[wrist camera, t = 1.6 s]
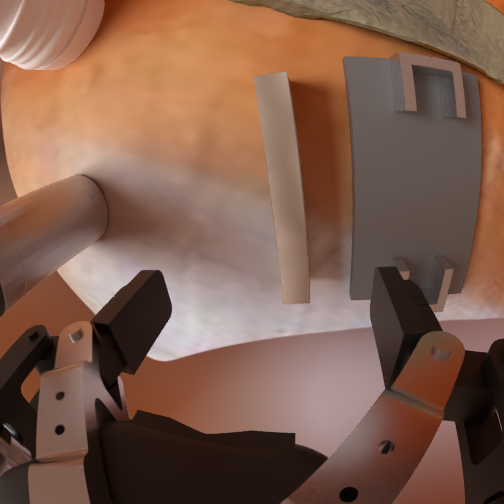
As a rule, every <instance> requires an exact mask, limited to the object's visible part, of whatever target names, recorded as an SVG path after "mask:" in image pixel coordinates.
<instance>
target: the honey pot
mask: <svg viewBox="0 0 504 504" xmlns="http://www.w3.org/2000/svg"><path fill="white" fill-rule="evenodd" d="M104 6H105V3H104V0H0V57H1V58H2V60H4V61H6V62H10V63H13V64H15V65H17V66H18V67H20V68H23V69H26V70H27V69H36V70H56V69H61V68H64V67H66V66H68V65H69V64H71V63H72V62H73V61H75V60H76V59H77V58H78V57H79V56H80V55H81V54H82V53H83V52H84V51H85V49H86V48H87V46H88V45H89V44H90V42H91V41H92V39H93V38H94V36H95V34H96V32H97V30H98V28H99V26H100V23H101V20H102V17H103V13H104Z"/></svg>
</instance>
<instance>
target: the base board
mask: <svg viewBox="0 0 504 504" xmlns="http://www.w3.org/2000/svg"><path fill="white" fill-rule="evenodd" d="M343 67H344V74H345V82H346V91H347V100H348V110H349V121H350V135H351V152H352V178H353V233H352V260H351V278H350V292H349V293H350V298H351V300H368V299H371V296H372V287H373V278H374V271H375V268H376V267H386V266H391V260H392V257H401V258H402V259H403V261H404V263H405V264H406V266H407V268H408V269H409V271H410V272H409V278H408V279H410V280H411V281H413V282H414V283H415V284H417V285H418V286H419V287H420V288H421V289H428V286H429V281H430V277H431V271H432V266H433V261H434V256H436V255H442V256H443V257H444V258H445V259H446V260H447V262H448V263H449V264H450V265H451V266H452V268H453V274H452V278H451V282H450V286H449V290H448V294H457V293H461V292H462V288H463V284H464V280H465V276H466V272H467V268H468V264H469V259H470V255H471V250H472V245H473V239H474V233H475V227H476V221H477V213H478V205H479V196H480V184H481V166H482V126H481V108H480V97H479V88H478V80H477V75H473V74H470V73H466V72H462V71H461V73H462V80H463V88H464V97H465V109H466V118H450V117H443V116H442V109H441V97H440V88H439V80H438V76H437V75H431V74H425V73H418V72H413V79H414V87H415V96H416V107H417V111H414V112H395V111H394V101H393V91H392V82H391V74H390V67H389V61H388V59H383V58H369V57H344V58H343Z"/></svg>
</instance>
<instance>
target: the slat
mask: <svg viewBox="0 0 504 504" xmlns="http://www.w3.org/2000/svg"><path fill="white" fill-rule="evenodd" d="M254 82H255V88H256V95H257V101H258V108H259V115H260V121H261V128H262V135H263V142H264V149H265V156H266V163H267V171H268V178H269V186H270V193H271V201H272V209H273V217H274V225H275V234H276V242H277V251H278V259H279V268H280V277H281V287H282V296H283V304H298V303H310V269H309V253H308V238H307V224H306V212H305V201H304V190H303V180H302V171H301V161H300V153H299V144H298V136H297V128H296V121H295V114H294V107H293V100H292V93H291V87H290V81H289V78H288V75H287V72H279V73H271V74H263V75H257V76H254Z"/></svg>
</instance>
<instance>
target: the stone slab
mask: <svg viewBox="0 0 504 504" xmlns="http://www.w3.org/2000/svg"><path fill="white" fill-rule="evenodd" d="M229 1H233V2H236V3H242V4H246V5H249V6H256V5H260V6H265V7H268V8H271V9H273V10H276V11H279V12H282V13H285V14H287V15H290V16H293V17H296V18H305V19H317V18H325V19H330V20H335V21H339V22H344V23H348V24H352V25H356V26H360V27H363V28H367V29H370V30H374V31H378V32H381V33H384V34H387V35H390V36H393V37H396V38H400V39H403V40H405V41H408V42H412V43H414V44H417V45H420V46H422V47H424V48H427V49H429V50H431V51H434V52H437V53H439V54H442V55H445V56H447V57H449V58H451V59H454V60H456V61H458V62H460V63H462V64H465V65H467V66H469V67H472V68H474V69H476V70H477V71H479V72H481V73H482V74H484V75H485V76H486V77H487V78H488V79H490V80H492V81H494V82H496V83H498V84H502V85H503V84H504V15H503V14H502V13H501V12H500V11H499V10H498V9H497V8H495V7H494V6H493V5H492V4H490V3H488V2H487V1H485V0H229Z"/></svg>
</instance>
